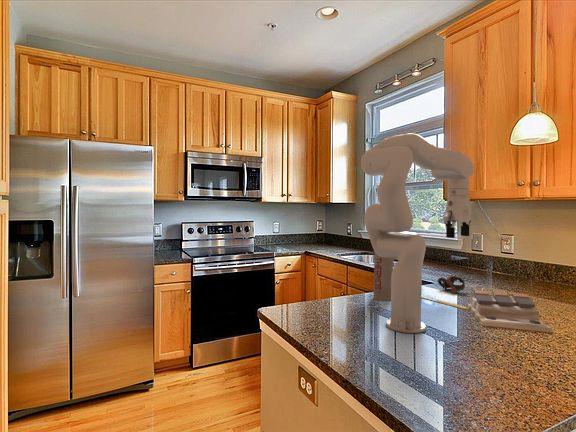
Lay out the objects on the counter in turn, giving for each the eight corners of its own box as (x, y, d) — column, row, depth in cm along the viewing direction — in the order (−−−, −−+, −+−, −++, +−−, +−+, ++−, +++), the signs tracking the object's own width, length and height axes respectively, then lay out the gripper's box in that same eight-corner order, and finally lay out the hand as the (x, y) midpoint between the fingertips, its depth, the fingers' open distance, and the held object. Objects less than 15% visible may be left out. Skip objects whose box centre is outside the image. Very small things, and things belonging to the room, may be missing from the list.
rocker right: (534, 307, 119) (535, 303, 119) (519, 306, 121) (519, 302, 120) (526, 297, 127) (527, 293, 126) (511, 296, 128) (512, 292, 128)
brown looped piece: (462, 290, 167) (467, 278, 162) (460, 302, 160) (465, 290, 155) (436, 282, 172) (441, 269, 167) (433, 293, 164) (438, 281, 160)
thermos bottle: (380, 301, 143) (382, 235, 143) (369, 296, 151) (371, 234, 150) (396, 299, 146) (397, 235, 146) (384, 295, 154) (385, 233, 153)
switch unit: (551, 332, 109) (551, 315, 109) (481, 325, 115) (482, 309, 115) (525, 312, 130) (525, 298, 130) (467, 307, 136) (468, 294, 136)
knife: (405, 290, 162) (399, 290, 160) (473, 307, 135) (467, 307, 132) (405, 293, 162) (399, 293, 160) (473, 310, 135) (466, 310, 132)
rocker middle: (513, 306, 121) (514, 302, 121) (498, 304, 122) (498, 301, 122) (506, 296, 128) (507, 292, 128) (492, 295, 130) (492, 291, 130)
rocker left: (493, 304, 123) (493, 300, 123) (478, 303, 124) (478, 299, 124) (487, 294, 130) (487, 291, 130) (473, 293, 132) (473, 290, 131)
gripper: (454, 193, 125) (453, 239, 126) (479, 193, 134) (479, 236, 135) (435, 193, 131) (435, 237, 132) (461, 193, 140) (461, 234, 141)
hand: (457, 236), depth 133 cm, fingers open, 9 cm apart
